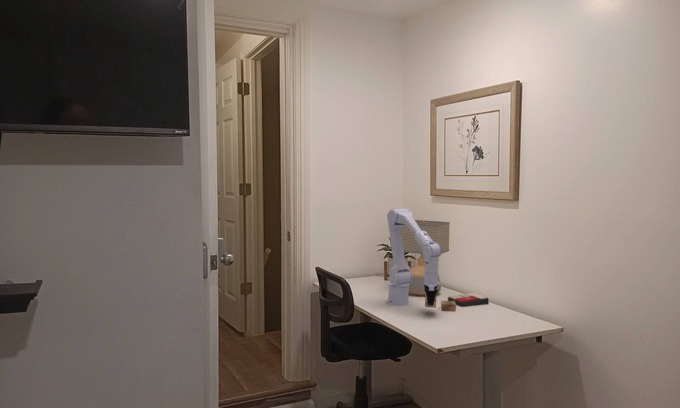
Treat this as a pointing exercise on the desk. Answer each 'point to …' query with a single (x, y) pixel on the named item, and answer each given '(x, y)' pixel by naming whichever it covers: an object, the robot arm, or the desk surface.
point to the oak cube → (427, 302)
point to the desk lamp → (437, 234)
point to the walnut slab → (448, 306)
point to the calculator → (468, 299)
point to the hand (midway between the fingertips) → (430, 303)
